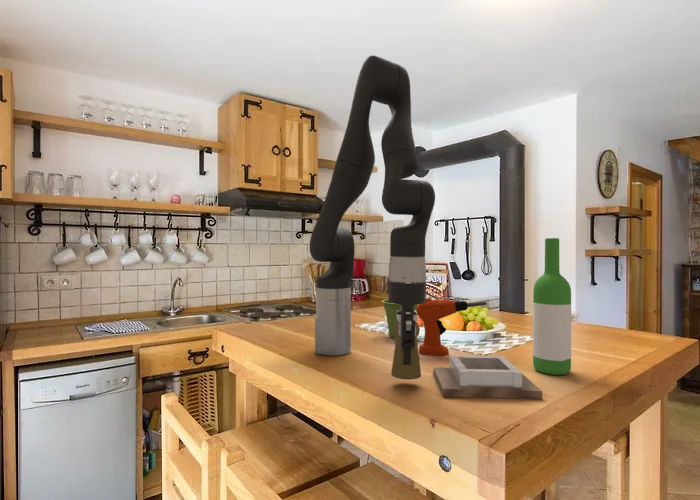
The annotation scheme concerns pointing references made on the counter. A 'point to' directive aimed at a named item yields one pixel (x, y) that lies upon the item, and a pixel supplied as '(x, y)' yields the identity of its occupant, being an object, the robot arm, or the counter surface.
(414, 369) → the olive chess pawn
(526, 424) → the counter surface
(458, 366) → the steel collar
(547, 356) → the wine bottle
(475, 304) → the toy drill
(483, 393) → the socket board
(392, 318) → the plant pot
